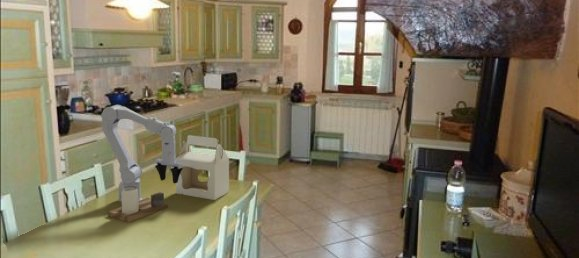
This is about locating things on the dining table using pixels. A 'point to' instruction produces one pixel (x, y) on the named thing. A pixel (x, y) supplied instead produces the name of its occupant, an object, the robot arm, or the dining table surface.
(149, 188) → the dining table surface
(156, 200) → the tan channel tray
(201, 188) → the gable box
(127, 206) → the can
